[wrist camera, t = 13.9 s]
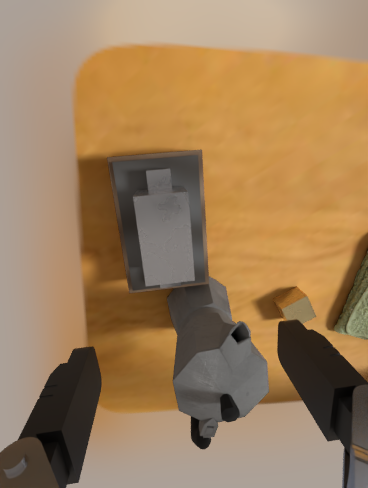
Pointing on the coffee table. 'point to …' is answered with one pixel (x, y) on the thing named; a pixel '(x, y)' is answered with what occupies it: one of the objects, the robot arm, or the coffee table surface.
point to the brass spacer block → (294, 306)
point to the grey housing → (164, 231)
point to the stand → (134, 178)
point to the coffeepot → (213, 360)
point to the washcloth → (356, 306)
